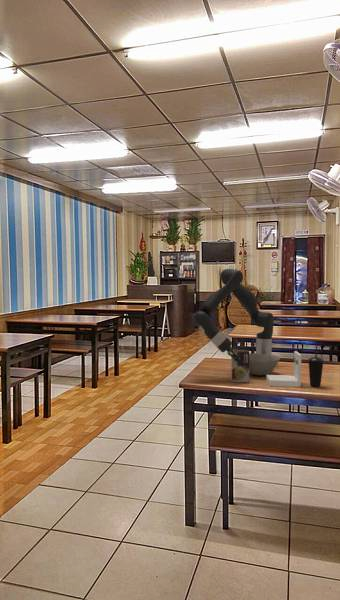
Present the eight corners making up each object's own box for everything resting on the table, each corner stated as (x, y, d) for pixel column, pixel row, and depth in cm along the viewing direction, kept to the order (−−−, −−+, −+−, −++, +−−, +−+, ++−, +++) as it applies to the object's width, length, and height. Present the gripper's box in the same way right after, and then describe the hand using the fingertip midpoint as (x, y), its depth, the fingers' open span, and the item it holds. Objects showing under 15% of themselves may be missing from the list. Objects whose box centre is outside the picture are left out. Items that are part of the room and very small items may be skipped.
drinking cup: (319, 384, 217) (320, 345, 216) (325, 388, 209) (326, 348, 208) (305, 384, 216) (306, 345, 215) (310, 388, 209) (311, 347, 208)
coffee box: (248, 379, 225) (248, 349, 224) (249, 382, 219) (250, 351, 218) (231, 379, 226) (231, 349, 225) (231, 382, 219) (232, 351, 219)
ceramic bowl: (284, 373, 242) (285, 355, 242) (272, 381, 222) (273, 362, 222) (247, 368, 254) (248, 351, 253) (233, 375, 234) (233, 357, 233)
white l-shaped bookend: (266, 380, 224) (267, 350, 223) (295, 381, 222) (296, 351, 222) (269, 386, 212) (270, 354, 211) (300, 387, 210) (301, 355, 210)
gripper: (226, 338, 215) (249, 361, 214) (225, 334, 229) (247, 356, 228) (216, 348, 215) (238, 371, 215) (215, 344, 230) (237, 365, 229)
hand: (243, 363), depth 222 cm, fingers open, 8 cm apart
